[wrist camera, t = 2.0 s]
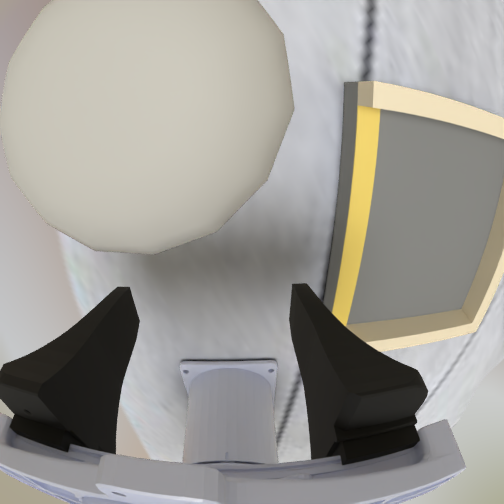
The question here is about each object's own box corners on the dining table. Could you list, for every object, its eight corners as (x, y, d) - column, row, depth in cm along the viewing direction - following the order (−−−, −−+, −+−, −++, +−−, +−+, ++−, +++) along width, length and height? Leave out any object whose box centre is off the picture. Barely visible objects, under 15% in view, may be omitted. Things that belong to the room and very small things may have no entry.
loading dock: (454, 303, 22) (475, 331, 18) (320, 319, 21) (332, 358, 18) (501, 121, 14) (538, 134, 11) (344, 82, 13) (373, 81, 10)
